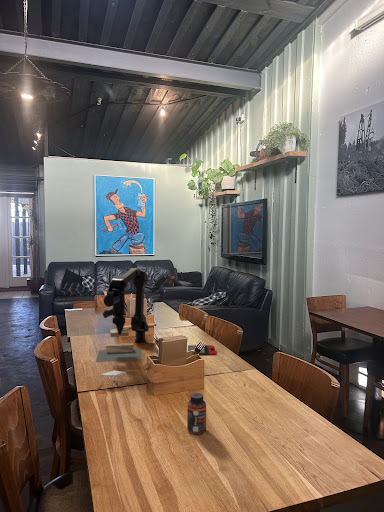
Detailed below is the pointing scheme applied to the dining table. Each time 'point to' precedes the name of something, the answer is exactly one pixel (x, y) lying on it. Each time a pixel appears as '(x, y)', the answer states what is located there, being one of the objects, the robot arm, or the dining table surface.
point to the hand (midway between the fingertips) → (119, 332)
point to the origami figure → (114, 375)
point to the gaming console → (206, 351)
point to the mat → (118, 356)
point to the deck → (124, 332)
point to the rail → (119, 347)
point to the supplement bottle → (196, 414)
